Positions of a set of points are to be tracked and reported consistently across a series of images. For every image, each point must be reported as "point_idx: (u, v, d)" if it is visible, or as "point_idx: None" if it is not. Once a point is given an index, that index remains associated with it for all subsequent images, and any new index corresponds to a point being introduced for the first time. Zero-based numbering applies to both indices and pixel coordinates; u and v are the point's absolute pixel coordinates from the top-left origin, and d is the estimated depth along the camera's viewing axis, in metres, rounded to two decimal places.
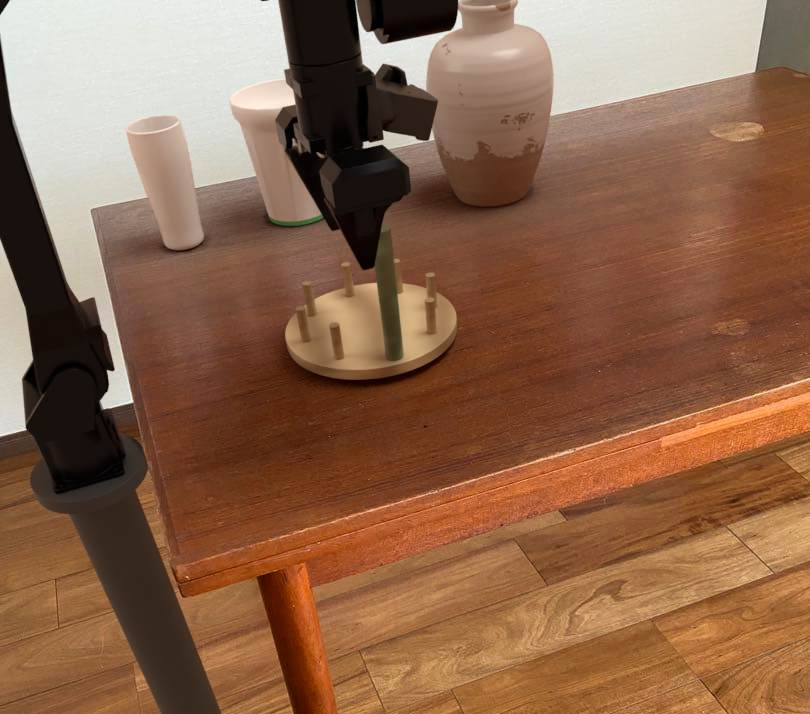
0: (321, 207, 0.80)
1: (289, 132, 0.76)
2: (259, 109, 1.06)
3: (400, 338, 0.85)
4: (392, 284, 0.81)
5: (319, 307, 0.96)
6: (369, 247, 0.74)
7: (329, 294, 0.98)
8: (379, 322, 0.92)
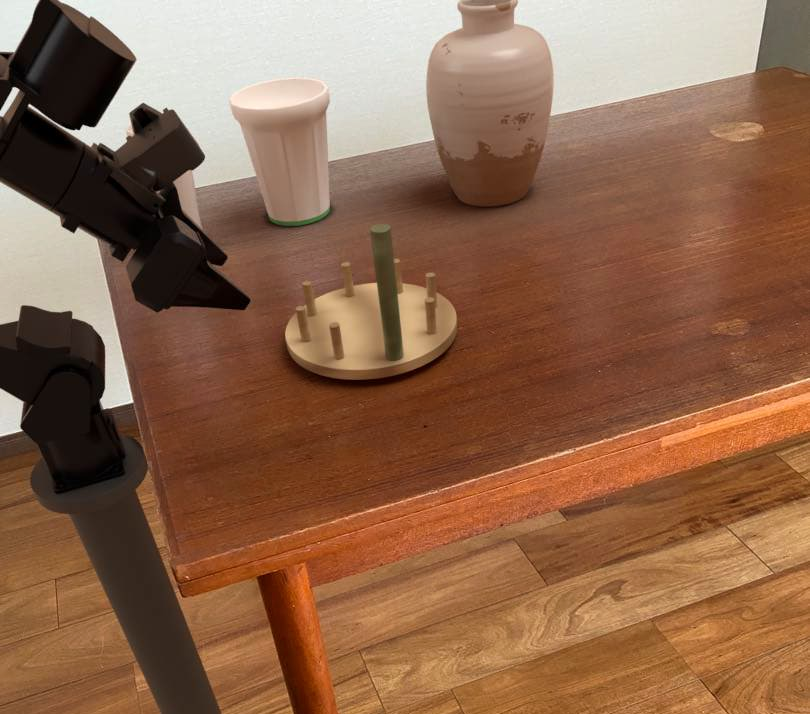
0: None
1: None
2: (259, 109, 1.06)
3: (400, 338, 0.85)
4: (392, 284, 0.81)
5: (319, 307, 0.96)
6: (228, 294, 0.71)
7: (329, 294, 0.98)
8: (379, 322, 0.92)
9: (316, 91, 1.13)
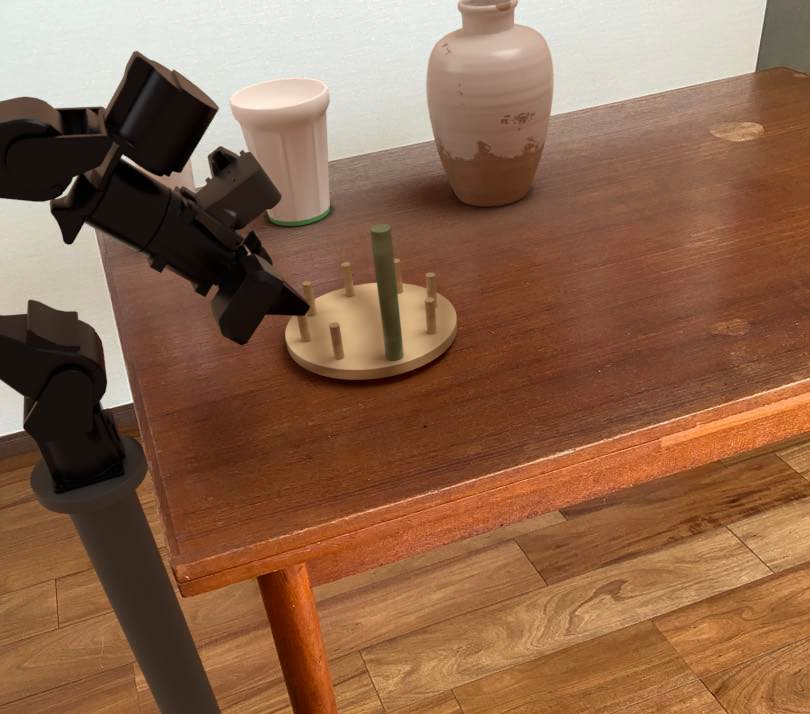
0: None
1: None
2: (259, 109, 1.06)
3: (400, 338, 0.85)
4: (392, 284, 0.81)
5: (319, 307, 0.96)
6: (290, 302, 0.78)
7: (329, 294, 0.98)
8: (379, 322, 0.92)
9: (316, 91, 1.13)
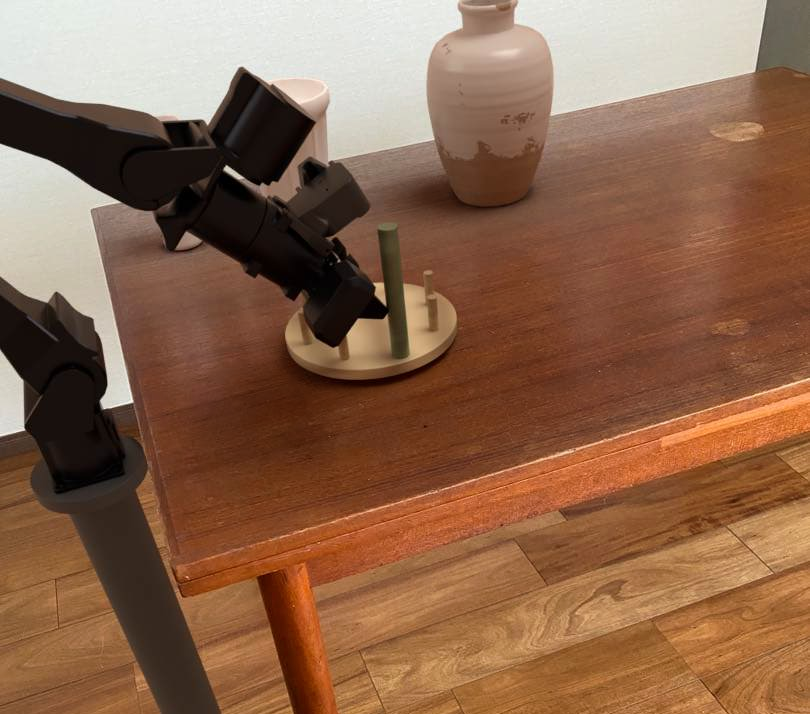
0: None
1: None
2: None
3: (407, 336, 0.85)
4: (399, 282, 0.81)
5: None
6: (372, 306, 0.81)
7: None
8: (379, 322, 0.92)
9: (316, 91, 1.13)
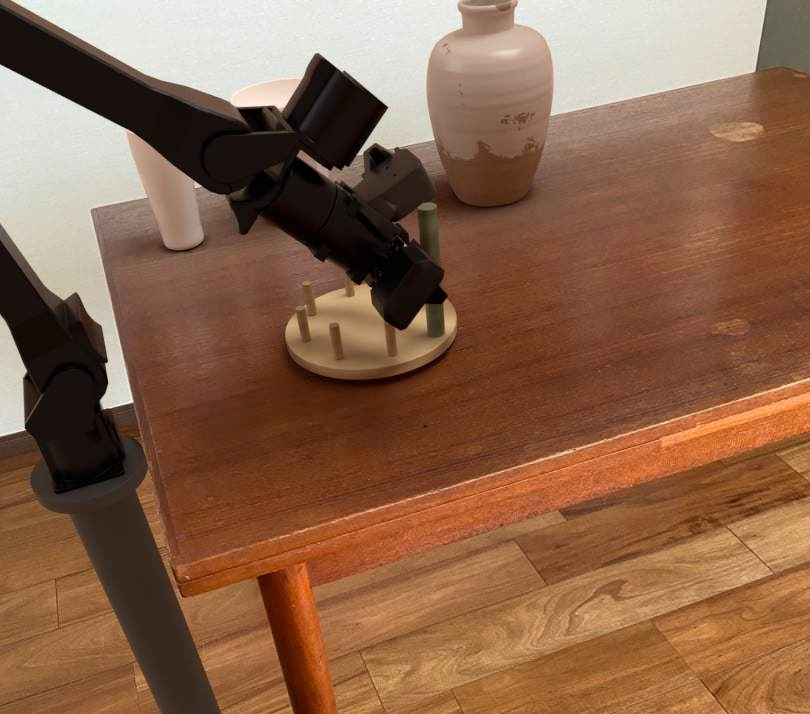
0: None
1: None
2: None
3: (443, 311, 0.88)
4: None
5: None
6: None
7: (292, 321, 0.94)
8: (377, 319, 0.93)
9: None
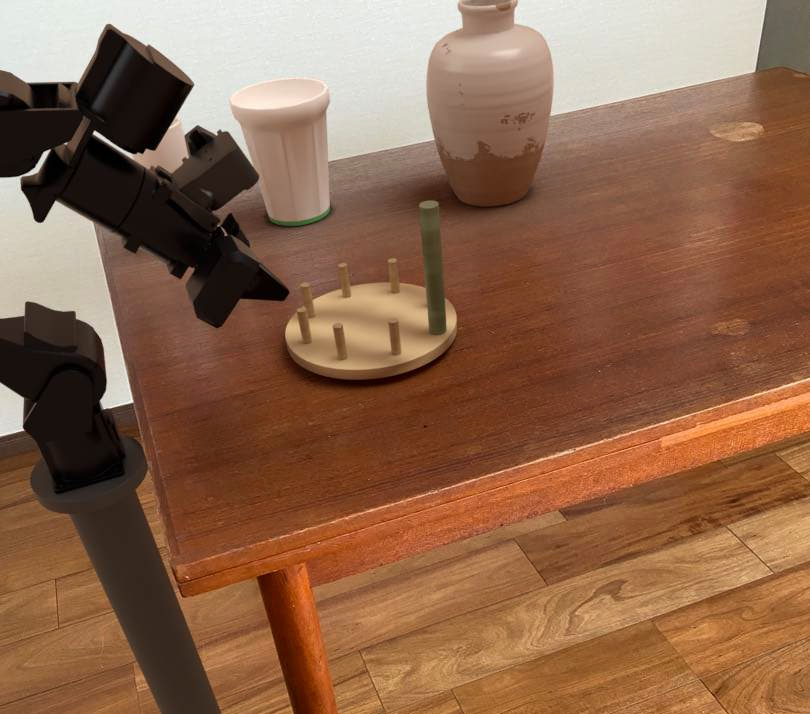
0: None
1: None
2: (259, 109, 1.06)
3: (445, 309, 0.88)
4: (441, 256, 0.84)
5: None
6: (269, 286, 0.77)
7: (291, 323, 0.94)
8: (377, 319, 0.93)
9: (316, 91, 1.13)
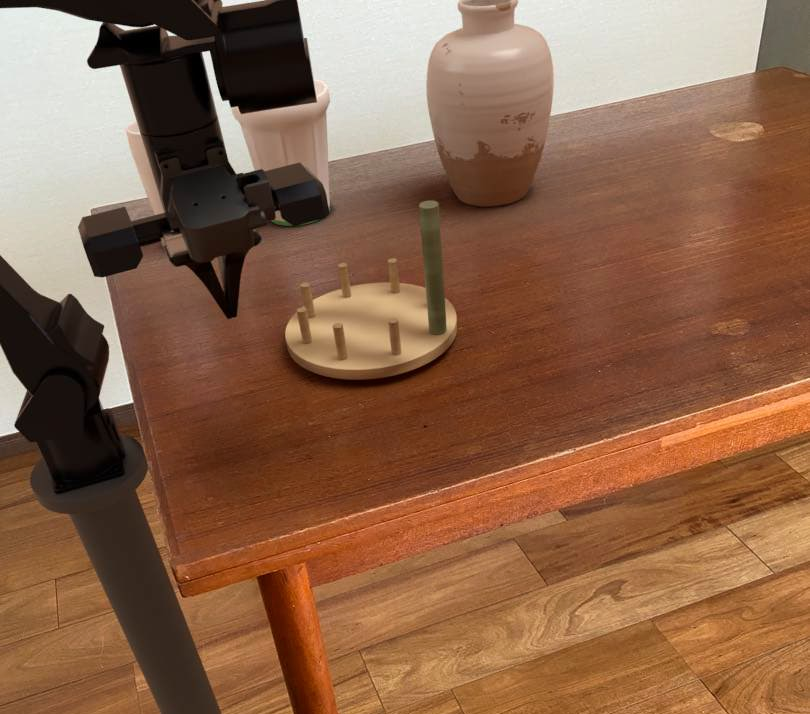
0: (222, 284, 0.74)
1: None
2: None
3: (445, 309, 0.88)
4: (441, 256, 0.84)
5: None
6: None
7: (291, 323, 0.94)
8: (377, 319, 0.93)
9: (316, 91, 1.13)
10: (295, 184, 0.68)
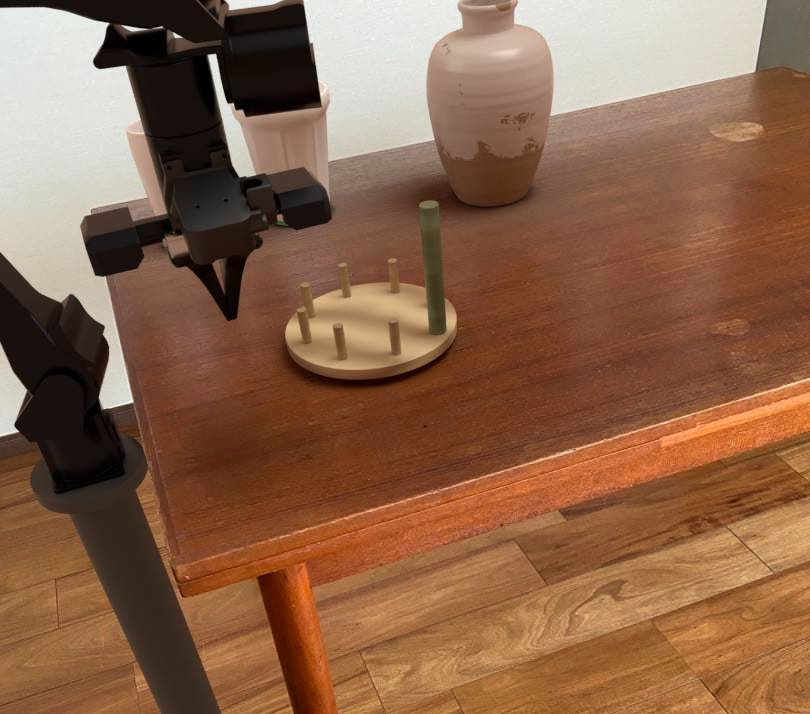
0: (223, 286, 0.74)
1: None
2: None
3: (445, 309, 0.88)
4: (441, 256, 0.84)
5: None
6: None
7: (291, 323, 0.94)
8: (377, 319, 0.93)
9: None
10: (298, 188, 0.68)
